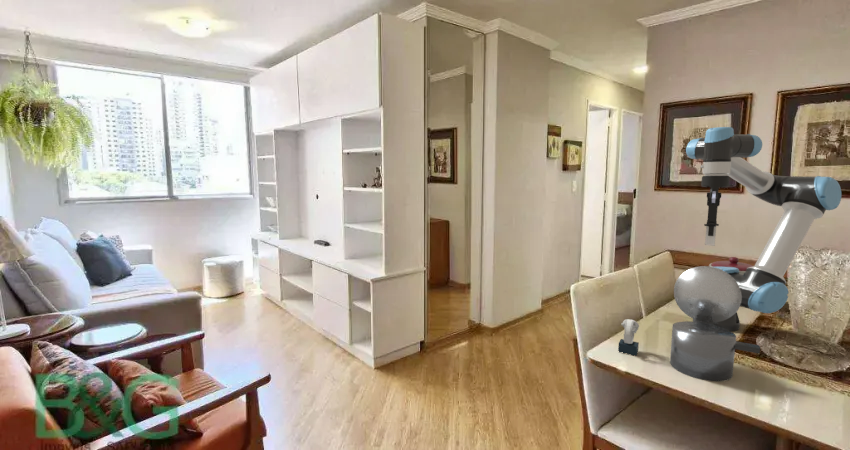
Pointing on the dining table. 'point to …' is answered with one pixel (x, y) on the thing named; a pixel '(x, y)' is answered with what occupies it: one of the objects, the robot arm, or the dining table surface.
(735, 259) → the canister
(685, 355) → the cooker pot
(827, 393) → the dining table surface
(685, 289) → the lid
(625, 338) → the watch
